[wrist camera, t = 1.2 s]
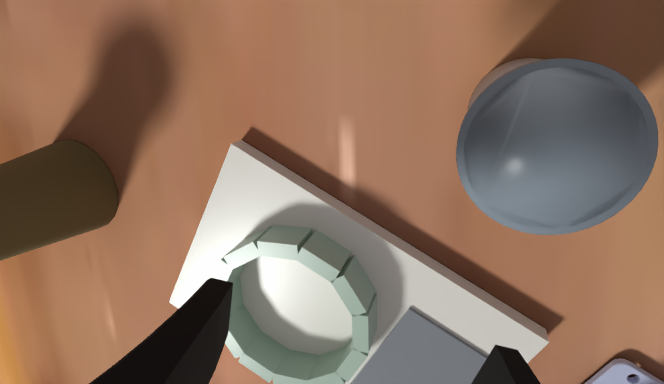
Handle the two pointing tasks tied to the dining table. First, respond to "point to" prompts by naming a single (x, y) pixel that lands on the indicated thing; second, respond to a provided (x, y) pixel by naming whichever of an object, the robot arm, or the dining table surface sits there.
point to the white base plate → (337, 288)
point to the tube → (555, 144)
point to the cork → (53, 196)
